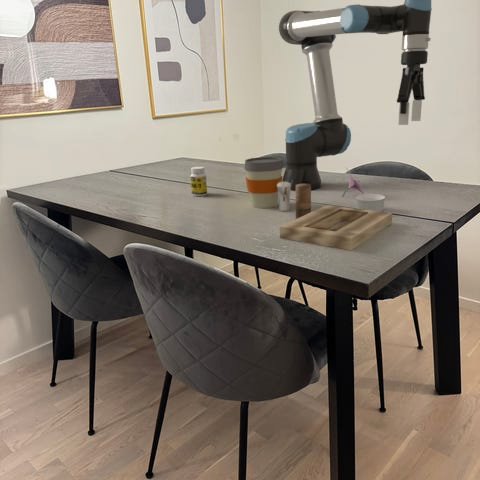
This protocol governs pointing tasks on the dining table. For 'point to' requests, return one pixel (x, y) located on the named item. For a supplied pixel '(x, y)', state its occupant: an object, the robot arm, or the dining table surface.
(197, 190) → the supplement bottle
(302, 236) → the seat board
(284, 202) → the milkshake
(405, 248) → the dining table surface
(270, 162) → the reusable coffee cup
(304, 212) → the peg
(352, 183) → the lily
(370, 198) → the ramekin
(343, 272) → the dining table surface
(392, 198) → the dining table surface
